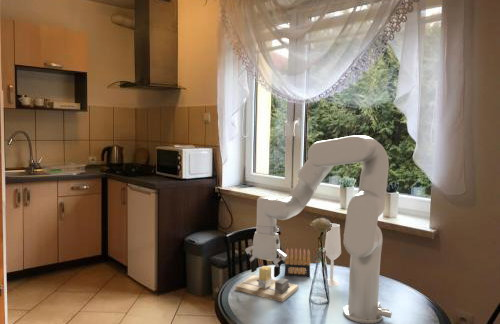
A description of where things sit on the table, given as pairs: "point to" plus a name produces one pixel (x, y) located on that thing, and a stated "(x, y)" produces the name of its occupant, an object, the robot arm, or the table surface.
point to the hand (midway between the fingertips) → (265, 273)
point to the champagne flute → (333, 249)
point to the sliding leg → (264, 277)
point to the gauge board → (268, 288)
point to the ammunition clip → (297, 264)
